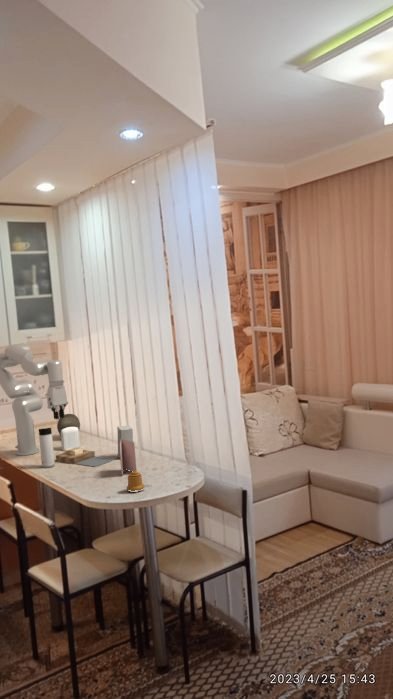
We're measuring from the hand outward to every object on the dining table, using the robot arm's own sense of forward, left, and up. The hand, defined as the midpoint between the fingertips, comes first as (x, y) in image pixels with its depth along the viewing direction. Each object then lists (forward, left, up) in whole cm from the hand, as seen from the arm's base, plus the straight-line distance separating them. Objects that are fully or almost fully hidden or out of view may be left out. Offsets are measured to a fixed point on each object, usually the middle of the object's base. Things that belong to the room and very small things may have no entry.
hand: (59, 418), depth 309 cm
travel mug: (+7, -16, -21) cm, 28 cm away
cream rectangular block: (+9, 0, -18) cm, 20 cm away
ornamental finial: (+75, -26, -22) cm, 82 cm away
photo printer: (-10, +15, -21) cm, 28 cm away
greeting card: (+54, -7, -21) cm, 59 cm away
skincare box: (+34, +13, -21) cm, 42 cm away
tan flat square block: (+10, 0, -21) cm, 23 cm away
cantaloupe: (-31, +33, -21) cm, 50 cm away
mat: (+25, 0, -21) cm, 32 cm away
